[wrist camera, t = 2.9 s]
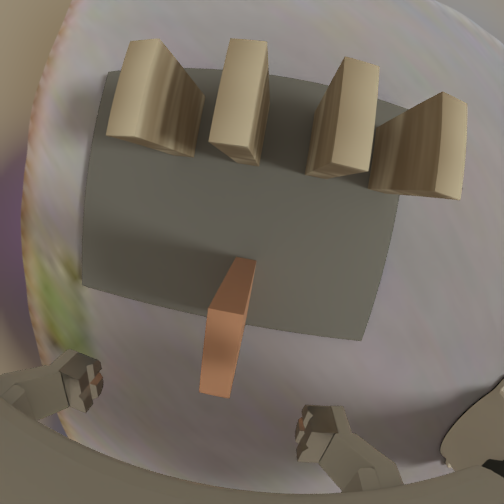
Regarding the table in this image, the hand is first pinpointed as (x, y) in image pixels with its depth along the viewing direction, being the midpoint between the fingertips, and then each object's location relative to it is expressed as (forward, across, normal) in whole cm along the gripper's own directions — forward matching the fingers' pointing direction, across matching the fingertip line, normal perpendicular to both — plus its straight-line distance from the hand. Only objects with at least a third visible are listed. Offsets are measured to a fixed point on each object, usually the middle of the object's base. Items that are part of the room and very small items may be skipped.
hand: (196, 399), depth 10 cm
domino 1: (+13, +5, -12) cm, 19 cm away
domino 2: (+13, 0, -12) cm, 18 cm away
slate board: (+14, +1, -7) cm, 16 cm away
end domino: (+13, -1, 0) cm, 13 cm away
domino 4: (+13, -10, -12) cm, 20 cm away
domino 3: (+13, -5, -12) cm, 18 cm away
